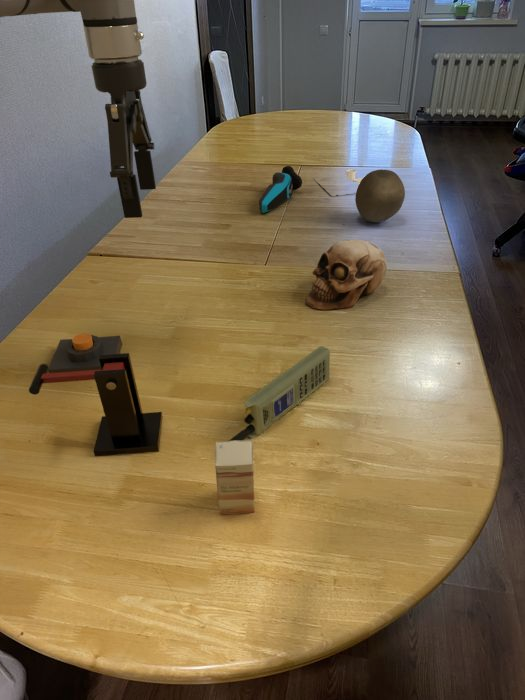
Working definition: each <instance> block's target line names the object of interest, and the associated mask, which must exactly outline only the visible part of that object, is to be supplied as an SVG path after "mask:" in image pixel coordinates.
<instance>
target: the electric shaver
mask: <svg viewBox="0 0 525 700" xmlns="http://www.w3.org/2000/svg"><path fill="white" fill-rule="evenodd" d="M302 186H303V179H302V177H301V176H300V175H299V174H298V173H296V171H295V169H294V168H293V167H292V166H291V165H285V166H283V168H281V172H280V171H278V172H275V173H274V174H273V175H272V183H271V184H269V185H268V186H267V187H266V188H265V190H264V191H263V193H262V194H261V195H260V198H259V202H258V206H259V212H260V213H261V214H265V213H267V212H270V211H272V210H275V209H276V208H278V207H279V206H280V205H282V204H283V203H284V202H287V201H288V200H289V199H291V198H292V195H293V192H294V191H296V190H298V189H300V188H301V187H302ZM290 197H291V198H290Z"/></svg>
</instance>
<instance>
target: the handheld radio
mask: <svg viewBox="0 0 525 700" xmlns="http://www.w3.org/2000/svg"><path fill="white" fill-rule="evenodd" d="M330 353H331V351H330V349H329V348H328V347H326V346H318V347H317V348H316V349H314V350H313V351H311V352H310V353H308V354H307V355H306V356H304V358H302V359H300V360H299V361H297V362H296V363H294V364H293V365H292V366H291V367H289V368H288V369H286V370H285V371H283V373H281V374H280V375H278V376H277V377H275V378H274V379H272V381H270V382H268V383H267V384H265V385H264V386H263V387H261V388H259V390H258V391H256V392H254V393H253V394H252V395H251V396H249V397H247V398H246V401H245V402H244V403H243V406H244V407H246V408H245V409H244V413H245V414H246V416H245V417H244V422H245V424H247V426H245V428H244V429H242V430H241V431H239V432H238V433H237V434H235V435H234V436H233V437H232V438H230V439H229V440H228V441H236V440H246V439H247V438H250V440H252V439H254V438H255V437H256V436H259V435H261V434H262V433H264V432H265V431H266V430H267V429H269V428H270V427H271V426H272V425H274V424H275V423H276V422H278V420H280V419H281V418H283V416H284V415H286V414H287V413H288V412H290V411H291V410H293V408H295V407H296V406H297V405H298V404H300V403H301V402H302V401H304V400H305V399H306V398H307V397H309V396H310V395H311V394H312V393H314V392H315V391H316V390H317V389H319V388H320V387H321V386H322V385H324V384H326V382H328V381H329V380H330V363H331V362H330V360H331V359H330Z"/></svg>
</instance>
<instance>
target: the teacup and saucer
mask: <svg viewBox="0 0 525 700" xmlns="http://www.w3.org/2000/svg"><path fill="white" fill-rule="evenodd" d="M356 173H357V170H356V169H354V168H353V169H352V168H351V169H346V171H345V176H347V179H348V180H353V182H356V183H360V182H361V180H362V178H358V179H355V175H357V174H356Z"/></svg>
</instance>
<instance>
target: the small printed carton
mask: <svg viewBox="0 0 525 700" xmlns="http://www.w3.org/2000/svg"><path fill="white" fill-rule="evenodd" d="M214 446H215V447H214V466H215V467H214V468H215V479H216V491H217V502H218V513H219V515H239V514H240V515H241V514H250V513H251V514H252V513H255V465H254V443H253V440H252V439H249V440H246V439H244V440H236V441H229V440H227V441H226V440H225V441H224V440H223V441H215V445H214Z"/></svg>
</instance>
